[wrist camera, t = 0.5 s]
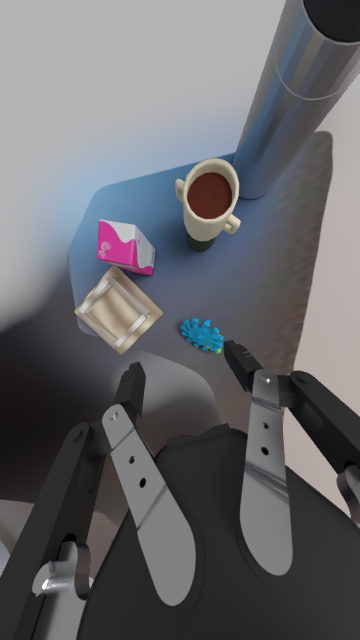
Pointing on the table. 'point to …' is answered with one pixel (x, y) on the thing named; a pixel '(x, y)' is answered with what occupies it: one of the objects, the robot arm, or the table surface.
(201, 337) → the gear
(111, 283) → the plate
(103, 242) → the supplement box
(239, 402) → the table surface
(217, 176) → the character mug
